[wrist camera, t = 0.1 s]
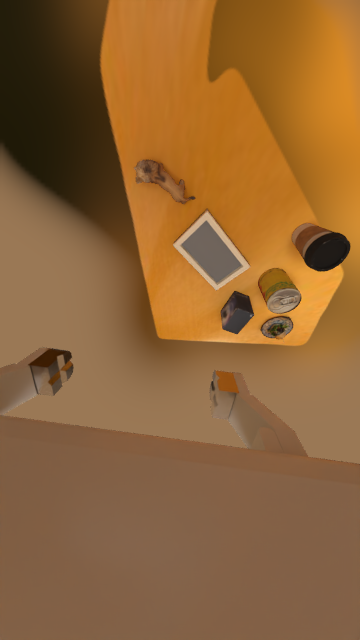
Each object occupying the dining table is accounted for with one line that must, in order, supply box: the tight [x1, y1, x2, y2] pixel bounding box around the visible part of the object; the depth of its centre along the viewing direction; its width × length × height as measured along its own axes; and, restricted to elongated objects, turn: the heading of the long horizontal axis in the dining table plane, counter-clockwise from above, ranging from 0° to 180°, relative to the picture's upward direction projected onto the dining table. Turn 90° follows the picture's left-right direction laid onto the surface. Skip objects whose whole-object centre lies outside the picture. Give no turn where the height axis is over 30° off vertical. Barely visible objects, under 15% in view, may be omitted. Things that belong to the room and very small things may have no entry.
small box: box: [221, 291, 254, 334], centre depth 66 cm, size 11×6×10 cm, turn 160°
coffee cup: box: [292, 223, 350, 271], centre depth 46 cm, size 8×8×15 cm
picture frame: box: [173, 210, 250, 290], centre depth 57 cm, size 13×21×2 cm, turn 45°
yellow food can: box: [258, 268, 301, 313], centre depth 57 cm, size 9×9×12 cm
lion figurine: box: [134, 160, 195, 204], centre depth 43 cm, size 15×5×9 cm, turn 64°
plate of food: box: [261, 317, 293, 339], centre depth 72 cm, size 12×12×8 cm
